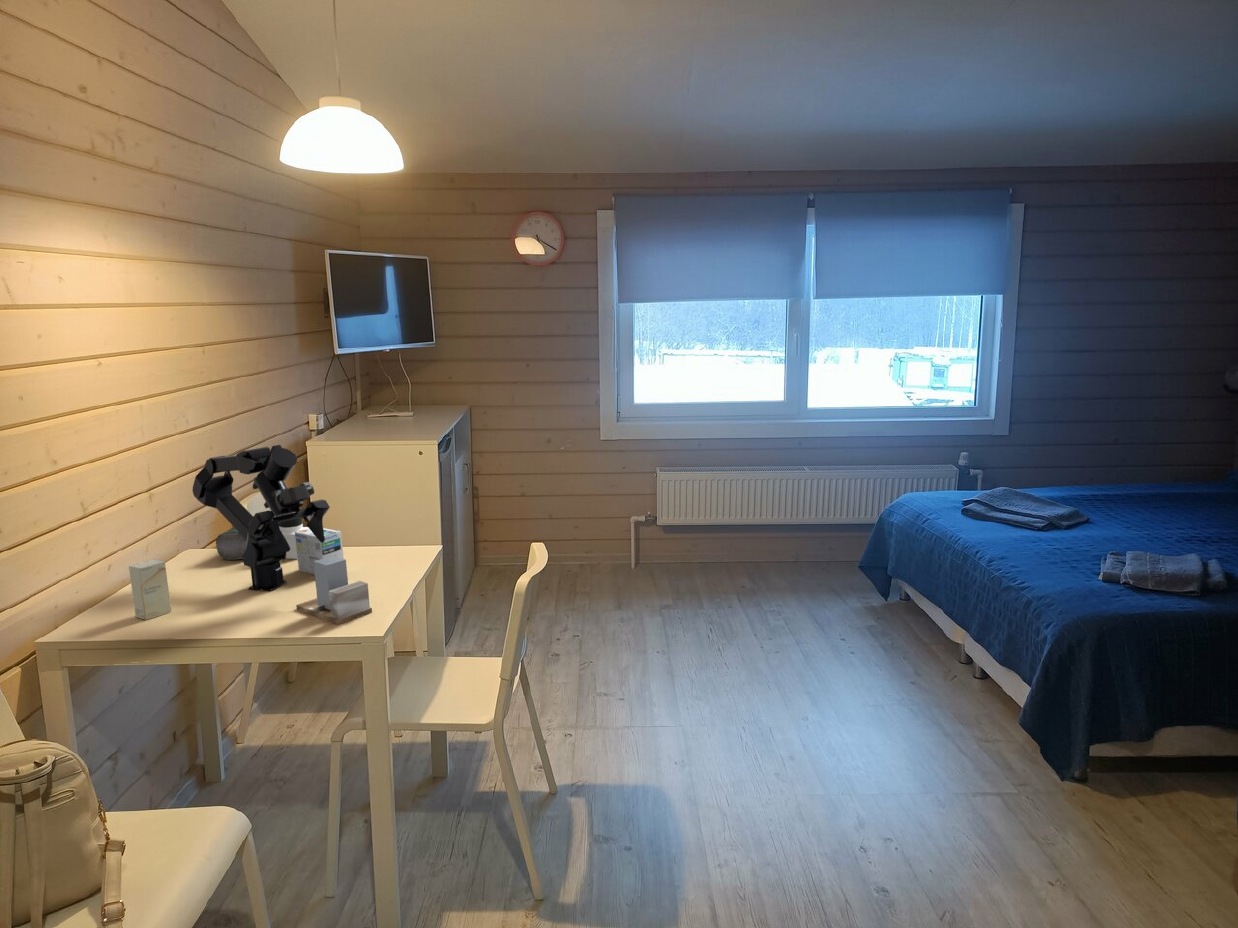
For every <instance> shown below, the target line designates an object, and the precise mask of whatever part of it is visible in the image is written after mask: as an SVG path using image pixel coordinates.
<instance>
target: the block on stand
mask: <svg viewBox="0 0 1238 928" xmlns="http://www.w3.org/2000/svg"><path fill="white" fill-rule="evenodd" d="M369 595H370V594H369V584H368V582H365V581H362V580H358V581H356V582H352V583H348V585H345V586H342V587H339V588H336V589H333V590H330V591H329V599H330V610H329V609H326V608H324V609H321V610H318V607H319V606H318V602H317V597H316V598H313V599H310V600H308V601H304V602H301V603H298V604H296V605H295V607H296V610H298V611H301V612H303V613H306V614H308V615H311V616H313V617H316V618H319V619H322V620H324V621H326V620H327V622H329V623H332V624H335V625H338V626H339V625H341V624H343V623H346V622H348V621H352V620H354V619H357V618H360V617H362V616H365V615H369V614H371V613H373V608H372V607H371V605H370V596H369Z"/></svg>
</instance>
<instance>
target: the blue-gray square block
mask: <svg viewBox="0 0 1238 928" xmlns="http://www.w3.org/2000/svg"><path fill="white" fill-rule="evenodd" d="M314 571H315V575H314V579H315V580H314V581H315V582H314V583H315V590H316V598H317V602H318V606H319V607H318V610H321V609H324V608H326V609H329V610H330V599H329V591H330V590H333V589H336V588H339V587H342V586H345V585H348V584H349V578H348V569H347V559H345V558H344V559H342V558H339V557H336V556H330V557H327V558H323V559H320V560H316V561H314Z"/></svg>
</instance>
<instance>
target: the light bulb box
mask: <svg viewBox="0 0 1238 928" xmlns="http://www.w3.org/2000/svg"><path fill="white" fill-rule="evenodd" d="M323 531H324V538H325V541H324V542H323V543H321V542H320V541H319V540H318V539H317V538H316V536H315V535H314V534H313V532H312V531H311V530H310V529H309V528H307V529H303V530H299V531H296V532H295V539H296V549H297V557H298V559H297V565H298V571H299V572H301V573H302V572H303V573H306V574H311V575H314V576H315V571H314V561H316V560H320V559H323V558H327V557H330V556H336V557H339V558H342V559H345V558H344V548H343V537H342V530H336V529H330V528H325V527H323Z"/></svg>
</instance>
